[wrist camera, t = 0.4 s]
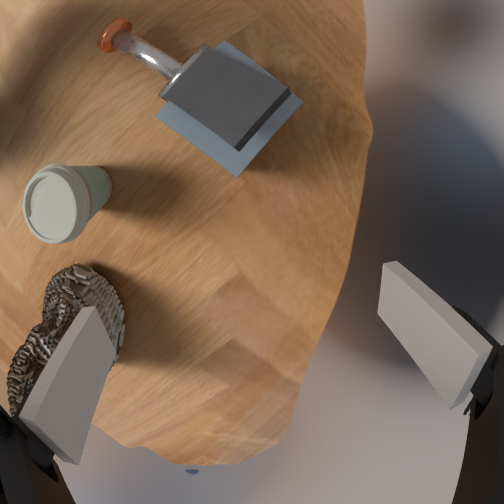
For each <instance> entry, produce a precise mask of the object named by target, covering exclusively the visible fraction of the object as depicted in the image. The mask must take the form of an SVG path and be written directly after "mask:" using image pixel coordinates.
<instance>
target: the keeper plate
mask: <svg viewBox="0 0 504 504" xmlns="http://www.w3.org/2000/svg"><path fill="white" fill-rule="evenodd" d="M291 94H292V93H291V91H290V89H289V87H288V86H286V85H284V84H282V83H281V82H279V81H277V80H275V79H273V78H271V77H269V76H267V75H266V74H264V73H262V72H260V71H258V70H256V69H254V68H252V67H250V66H247V65H245V64H243V63H241V62H239V61H237V60H235V59H232V58H230V57H228V56H226V55H223V54H221V53H219V52H216V51H214V50H212V49H211V48H210V47H209V46H208V45H206V44H203V45H202V46H201V47H200V48H199V49H198V50H197V51H196V52H195V53H194V54H193V55H192V56H191V57H190V58H189V59H188V60H187V61H186V62H185V63H184V64H183V66H182V67H181V68H180V69H179V70H178V71H177V72H176V73H175V74H174V76H173V77H172V78H171V79H170V80H169V81H168V83H167V84H166V85H165V86H164V87H163V88H162V90H161V91H160V92H159V93H158V96H160V97H161V98H162V99H164V100H165V101H167V102H168V100H169V101H171V102H172V103H173V104H175V105H176V106H178V107H179V108H181V109H182V110H183V111H185V112H186V113H188V114H189V115H190V116H192V117H193V118H194V119H196V120H197V121H199V122H200V123H201V124H203V125H204V126H205V127H207V128H208V129H209V130H211V131H212V132H213V133H215V134H216V135H217V136H219V137H220V138H221V139H223V140H224V141H225V142H227V143H228V144H229V145H231V146H232V147H233V148H234V149H236V150H237V151H238V152H240V151H241V150H242V148H243V147H244V146H245V145H246V144H247V143H248V141H249V140H250V139H251V138H252V137H253V136H254V135H255V133H256V132H257V131H258V130H259V129H260V128H261V127H262V126H263V124H264V123H265V122H266V121H267V120H268V119H269V118H270V117H271V116H272V114H273V113H274V112H275V111H276V110H277V109H278V108H279V107H280V106H281V105H282V104H283V103H284V101H285V100H286V99H287V98H288V97H289V96H290V95H291Z"/></svg>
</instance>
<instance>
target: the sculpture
mask: <svg viewBox="0 0 504 504" xmlns="http://www.w3.org/2000/svg"><path fill="white" fill-rule="evenodd" d="M113 289H114V287H113V286H112V285H109V283H108V282H107V281H106V278H103V277H102V276H100V275H98V273H97V272H94V270H93V268H90V267H87V266H84V265H81V264H79V263H78V264H73V266H72V265H71V266H70V267H69V268H64V269H63V270H61V271H59V272H58V273H57V274H55V275H54V276H53V277H52V279H51V281H50V282H49V283H48V286H47V287H46V291H45V297H44V305H43V312H42V319H43V321H42V323H41V324H38V325H36V326H35V327H33V328H32V330H31V331H30V332H31V333H30V334H29V335H28V337H27V340H26V341H25V344H24V345H22V346H20V347H19V349H18V350H17V352H16V353H15V356H14V358H13V359H12V364H11V365H10V370H9V372H8V377H7V382H6V383H7V387H8V390H7V392H8V396H9V398H8V401H9V404H10V410H9V411H10V413H11V416H12V417H11V418H12V419H13V417H14V415H15V413H16V411H17V409H18V407H19V405H20V403H21V401H22V399H23V397H24V395H25V393H27V392H26V391H27V389H28V388H29V386H31V385H30V384H31V382H32V380H33V379H34V377H35V375H36V374H37V373H38V372H39V371H40V370H41V369H42V368H43V367H45V366H46V364H47V362H48V361H49V359H50V357H51V356H52V354H53V352H54V351H55V349H56V347H57V346H58V344H59V343H60V341H61V339H62V338H63V336H64V335H65V333H66V332H67V330H68V328H69V327H70V325H71V324H72V322H73V321H74V319H75V318H76V316H77V315H78V313H79V312H80V310H81V309H82V308H83V307H92V306H96V308H97V311H98V313H99V316H100V318H101V320H102V322H103V325H104V327H105V329H106V331H107V334H108V336H109V338H110V340H111V342H112V344H113V346H114V348H115V350H116V354H115V357H114V359H113V362H112V365H111V367H110V370H109V371H111V368H112V367H114V364H115V363H116V362H117V361H118V358H119V354H120V347H122V343H123V338H124V331H125V325H126V324H123V320H124V312H125V310H122V306H123V305H121V304H120V300H121V299H118V295H116V290H113Z"/></svg>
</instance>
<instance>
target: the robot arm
mask: <svg viewBox="0 0 504 504" xmlns="http://www.w3.org/2000/svg"><path fill="white" fill-rule="evenodd" d="M378 315H379V316H380V317H381V318H382V320H383V321H384V322H385V323H386V325H387V326H388V327H389V328H390V329H391V331H392V332H393V334H394V335H395V336H396V337H397V339H398V340H399V341H400V342H401V344H402V345H403V346H404V348H405V349H406V350H407V352H408V353H409V354H410V355H411V357H412V358H413V359H414V361H415V362H416V363H417V365H418V366H419V368H420V369H421V370H422V372H423V373H424V374H425V376H426V377H427V379H428V380H429V381H430V383H431V384H432V385H433V387H434V388H435V390H436V391H437V393H438V394H439V395H440V397H441V398H442V400H443V401H444V403H445V404H446V405H447V407H448V408H449V409H452V408H454V407H455V406H457V405H459V404H461V403H462V402H464V400H465V399H466V397H467V396H468V394H469V392H470V391H471V392H472V394H473V395H474V396H473V398H472V400H471V401H470V403H469V404H468V406H467V408H466V409H465V411H464V415H466V414H467V412H468V411H469V409H470V408H471V409H470V414H469V415H470V420H469V427H468V434H467V441H466V447H465V452H464V458H463V463H462V468H461V472H460V476H459V480H458V484H457V488H456V491H455V495H454V498H453V502H452V504H504V345H503V346H501V345H500V344H499V343H498V342H497V341H496V340H495V339H494V338H493V337H492V336H491V335H490V334H489V333H488V332H487V331H486V330H484V329H483V328H482V327H481V326H480V325H478V323H477V322H476V321H475V320H472V317H470V316H469V315H468V314H467V313H466V312H465V311H463V310H461V309H459V308H457V307H455V306H449V305H448V304H447V303H446V302H445V301H444V300H443V299H441V298H440V297H439V296H438V295H437V294H436V293H435V292H433V291H432V290H431V289H430V288H429V287H428V286H426V285H425V284H424V283H423V282H422V281H421V280H419V279H418V278H417V277H416V276H415V275H413V274H412V273H411V272H410V271H408V270H407V269H406V268H405V267H403V266H402V265H401V264H400V263H398V262H397V261H394V262H389V263H384V264H383V270H382V280H381V289H380V298H379V306H378ZM115 354H116V350H115V348H114V346H113V344H112V342H111V340H110V338H109V336H108V334H107V331H106V329H105V327H104V325H103V322H102V320H101V318H100V316H99V313H98V311H97V308H96V306H92V307H83V308H82V309H81V310H80V312H79V313H78V315H77V316H76V318H75V319H74V321H73V322H72V324H71V325H70V327H69V328H68V330H67V332H66V333H65V335H64V336H63V338H62V339H61V341H60V343H59V344H58V346H57V347H56V349H55V351H54V352H53V354H52V356H51V357H50V359H49V361H48V362H47V364H46V366H45V367H43V368H42V369H41V370H40V371H39V372H38V373H37V374H36V375H35V377H34V379H33V380H32V382H31V384H30V385H31V386H29V388H28V389H27V391H26V392H27V393H25V395H24V397H23V399H22V401H21V403H20V405H19V407H18V409H17V411H16V413H15V415H14V417H13V419H12V418H11V417H10V416H9V415H8V413H7V412H6V411H5V410H4V409H3V407H2V406H1V405H0V504H76V503H75V501H74V499H73V497H72V495H71V494H70V491H69V489H68V488H67V485H66V483H65V481H64V479H63V476H62V474H61V472H60V469H59V467H58V465H57V463H56V462H55V460H53V456H54V453H55V454H56V455H57V456H58V457H59V458H60V459H61V460H63V461H65V462H68V463H72V464H77V465H79V462H80V459H81V455H82V451H83V448H84V445H85V441H86V438H87V434H88V431H89V428H90V425H91V422H92V418H93V415H94V412H95V409H96V406H97V403H98V400H99V397H100V395H101V392H102V389H103V386H104V383H105V381H106V378H107V375H108V373H109V370H110V367H111V365H112V362H113V359H114V357H115Z"/></svg>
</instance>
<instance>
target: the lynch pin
mask: <svg viewBox="0 0 504 504" xmlns="http://www.w3.org/2000/svg"><path fill="white" fill-rule="evenodd" d="M131 30H132V24H131V23H130V22H129V21H127V20H125V19H123V18H119V19H116V20H114V21H112V22H111V23H110V24H108V25H107V26H106V27H105V29H104V30H103V31H102V33H101V34H100V36H99V39H98V43H97V45H98V48H99V49H101V50H103V51H104V52H106V53H111V52H114V51H115V50H119V51H121V52H122V53H124V54H126V55H127V56H129V57H131V58H132V59H134V60H136V61H137V62H139V63H140V64H142V65H143V66H145V67H147V68H148V69H150V70H151V71H153V72H154V73H156V74H157V75H159V76H160V77H162V78H163V79H165V80H166V81H169V80H170V79H171V78H172V77H173V76H174V74H175V73H176V72H177V71H178V70H179V69H180V68H181V67H182V66H183V64H182V63H181V62H179V61H178V60H176V59H175V58H173V57H172V56H170V55H168V54H167V53H165V52H164V51H162V50H160V49H159V48H157V47H156V46H154V45H152V44H151V43H149V42H147V41H145V40H144V39H142V38H140V37H139V36H137V35H135V34H133V33H132V32H131Z"/></svg>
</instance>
